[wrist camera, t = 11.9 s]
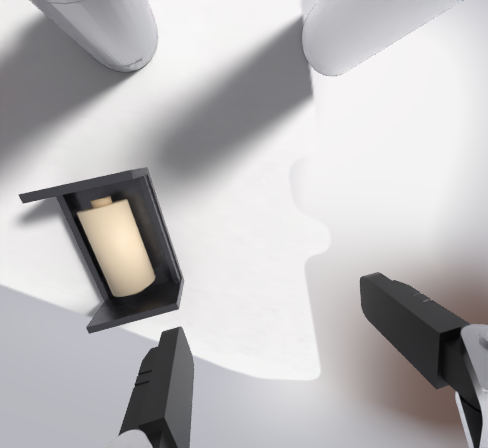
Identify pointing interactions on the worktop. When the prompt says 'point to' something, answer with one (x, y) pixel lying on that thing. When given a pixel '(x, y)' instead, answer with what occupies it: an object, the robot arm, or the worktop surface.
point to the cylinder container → (361, 29)
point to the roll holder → (151, 231)
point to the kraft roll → (117, 245)
